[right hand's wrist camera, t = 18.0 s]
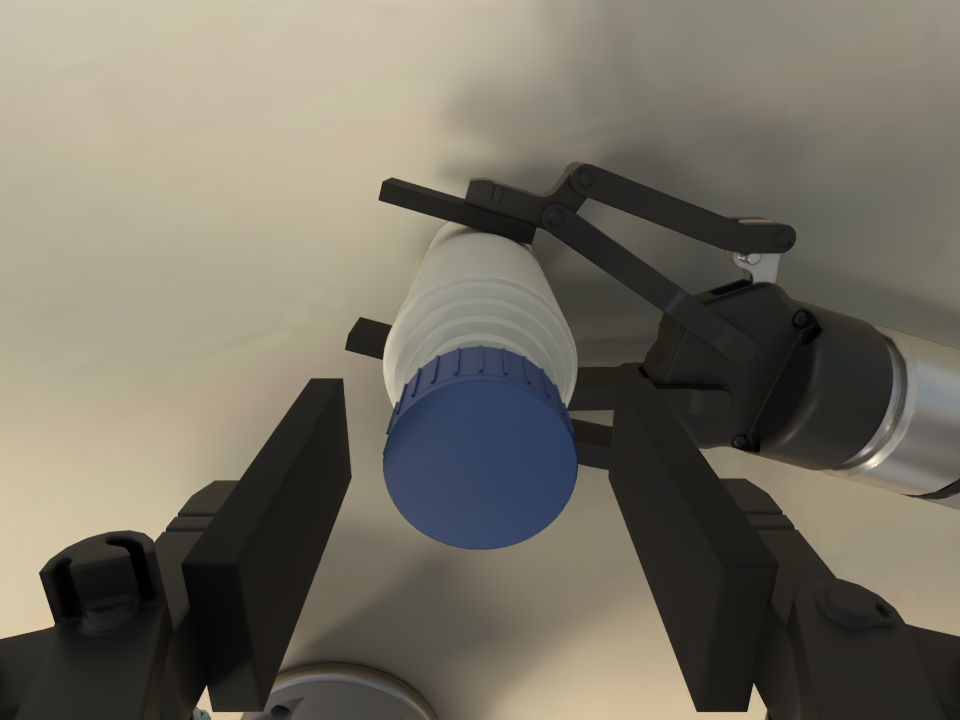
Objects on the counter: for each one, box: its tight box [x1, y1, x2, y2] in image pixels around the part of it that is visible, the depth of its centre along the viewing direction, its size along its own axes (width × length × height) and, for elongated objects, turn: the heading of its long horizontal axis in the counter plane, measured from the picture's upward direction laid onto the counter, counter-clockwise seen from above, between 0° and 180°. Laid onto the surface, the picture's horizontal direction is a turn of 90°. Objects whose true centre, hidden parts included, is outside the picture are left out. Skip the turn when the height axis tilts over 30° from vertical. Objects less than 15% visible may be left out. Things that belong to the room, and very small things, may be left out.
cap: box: [383, 345, 578, 550], centre depth 14 cm, size 4×4×2 cm
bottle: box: [383, 221, 578, 408], centre depth 23 cm, size 6×6×21 cm
